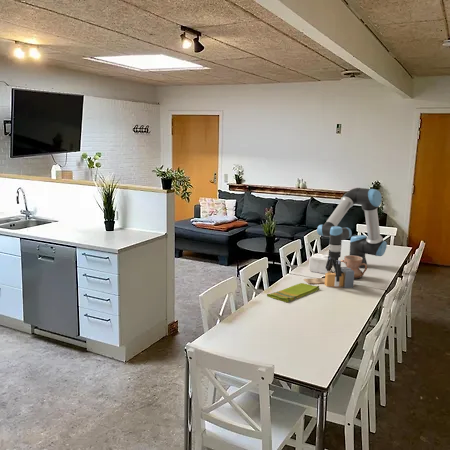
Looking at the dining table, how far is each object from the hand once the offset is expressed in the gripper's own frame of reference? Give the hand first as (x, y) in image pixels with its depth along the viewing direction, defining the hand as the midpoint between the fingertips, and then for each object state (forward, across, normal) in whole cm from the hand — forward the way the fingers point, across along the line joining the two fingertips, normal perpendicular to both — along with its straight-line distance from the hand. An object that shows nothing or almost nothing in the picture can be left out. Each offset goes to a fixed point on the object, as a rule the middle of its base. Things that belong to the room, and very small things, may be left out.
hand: (332, 283), depth 300 cm
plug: (+2, 0, +5) cm, 5 cm away
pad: (+2, -10, -4) cm, 11 cm away
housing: (+2, 0, +9) cm, 9 cm away
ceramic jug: (+2, -17, +23) cm, 29 cm away
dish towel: (+3, +10, -30) cm, 32 cm away
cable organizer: (+2, -33, +6) cm, 34 cm away
